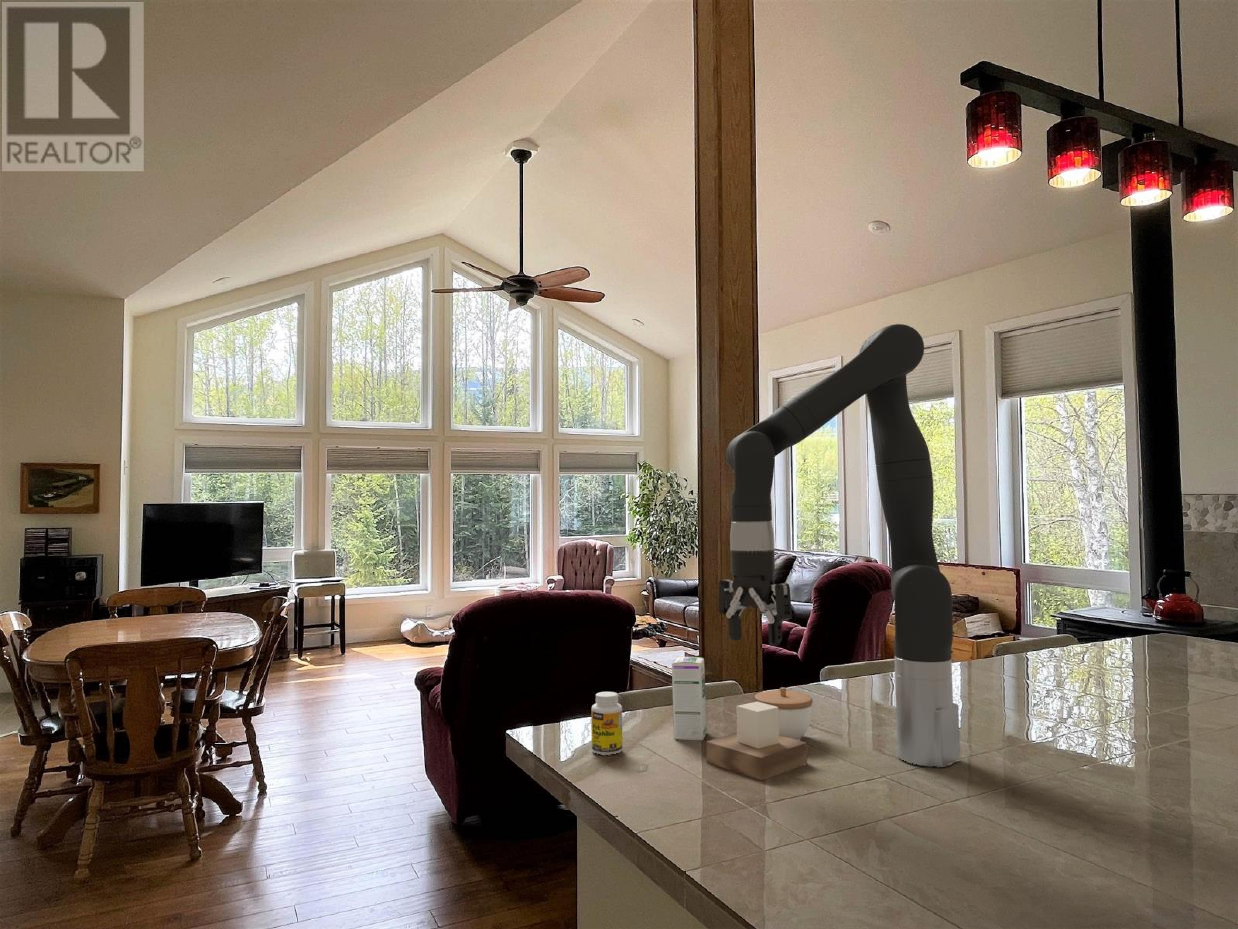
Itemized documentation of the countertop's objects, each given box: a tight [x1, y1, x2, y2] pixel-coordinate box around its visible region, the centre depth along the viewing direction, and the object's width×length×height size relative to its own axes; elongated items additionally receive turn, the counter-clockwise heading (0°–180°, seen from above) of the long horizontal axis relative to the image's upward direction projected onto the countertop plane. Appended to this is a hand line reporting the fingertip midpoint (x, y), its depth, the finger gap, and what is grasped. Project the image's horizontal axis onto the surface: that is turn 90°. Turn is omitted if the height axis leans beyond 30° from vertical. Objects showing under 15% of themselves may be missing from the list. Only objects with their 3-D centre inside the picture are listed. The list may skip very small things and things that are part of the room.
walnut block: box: [705, 732, 808, 781], centre depth 134 cm, size 12×12×4 cm
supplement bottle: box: [590, 691, 623, 756], centre depth 141 cm, size 6×6×10 cm
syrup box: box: [671, 656, 708, 741], centre depth 151 cm, size 6×6×14 cm
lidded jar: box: [754, 686, 813, 741], centre depth 148 cm, size 11×11×9 cm
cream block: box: [736, 701, 779, 748], centre depth 134 cm, size 5×5×6 cm
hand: (754, 642), depth 135 cm, fingers open, 8 cm apart
